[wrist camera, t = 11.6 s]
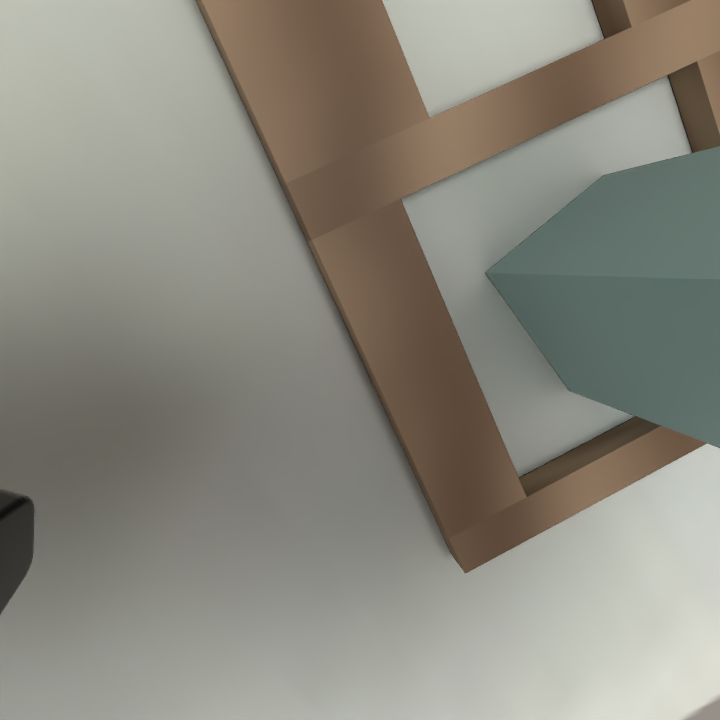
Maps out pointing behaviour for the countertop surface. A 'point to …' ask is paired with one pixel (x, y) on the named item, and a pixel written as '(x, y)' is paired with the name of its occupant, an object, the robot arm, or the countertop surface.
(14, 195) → the countertop surface
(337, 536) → the countertop surface
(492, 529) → the socket board
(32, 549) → the robot arm
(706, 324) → the teal tall rectangular block
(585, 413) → the countertop surface
